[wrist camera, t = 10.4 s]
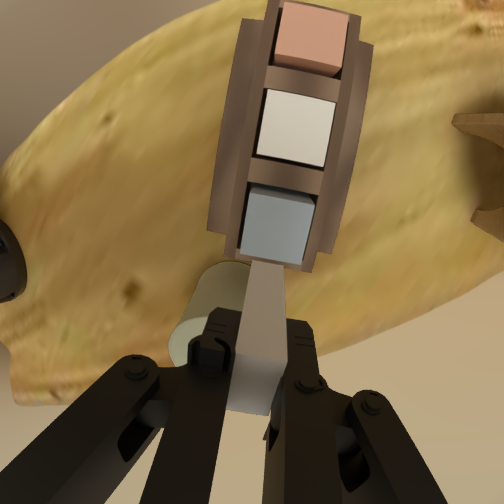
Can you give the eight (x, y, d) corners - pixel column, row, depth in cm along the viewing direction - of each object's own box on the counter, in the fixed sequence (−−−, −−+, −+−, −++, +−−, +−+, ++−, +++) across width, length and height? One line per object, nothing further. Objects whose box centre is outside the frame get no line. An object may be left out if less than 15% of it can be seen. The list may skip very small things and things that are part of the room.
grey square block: (247, 229, 30) (239, 253, 24) (255, 181, 28) (249, 192, 22) (296, 238, 30) (300, 265, 24) (306, 191, 28) (315, 205, 22)
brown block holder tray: (208, 227, 33) (191, 250, 26) (243, 21, 24) (234, -6, 17) (330, 250, 33) (342, 278, 26) (370, 47, 24) (393, 27, 17)
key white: (261, 151, 27) (256, 153, 21) (270, 101, 25) (267, 89, 19) (312, 161, 27) (323, 166, 21) (322, 111, 25) (335, 103, 19)
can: (182, 294, 36) (148, 355, 25) (229, 245, 33) (205, 299, 22) (237, 337, 38) (222, 405, 27) (286, 295, 35) (289, 363, 24)
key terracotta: (275, 72, 24) (274, 53, 18) (283, 29, 22) (284, 1, 16) (327, 83, 24) (341, 67, 18) (334, 39, 22) (348, 15, 16)
